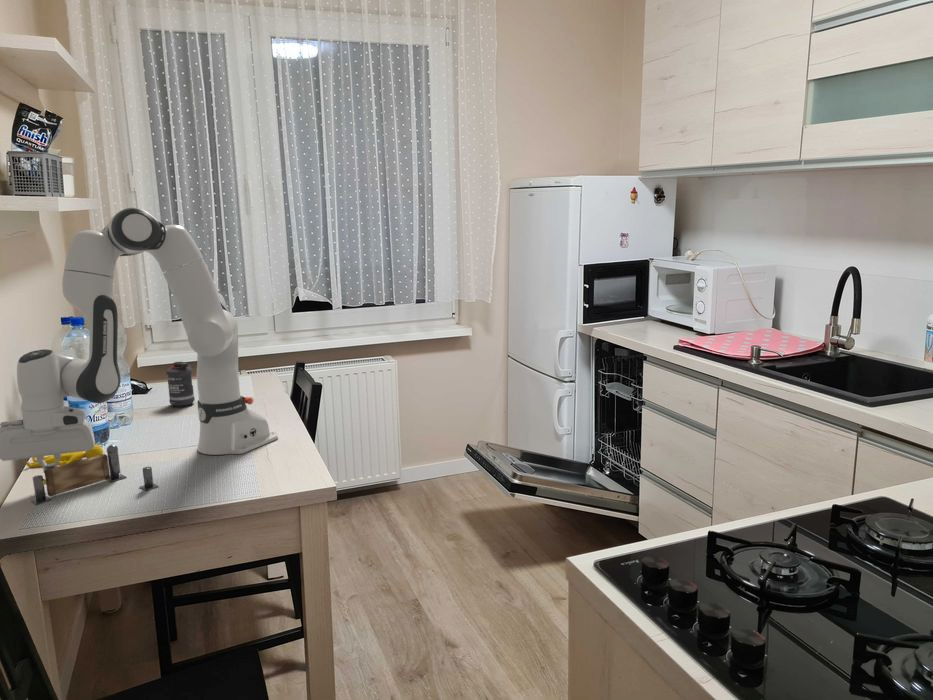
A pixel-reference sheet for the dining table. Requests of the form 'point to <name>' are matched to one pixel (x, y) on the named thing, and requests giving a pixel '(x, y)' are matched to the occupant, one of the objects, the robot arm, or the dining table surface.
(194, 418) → the dining table surface
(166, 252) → the robot arm
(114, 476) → the hinge post
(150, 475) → the post
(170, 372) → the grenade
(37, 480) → the latch stile
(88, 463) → the gate
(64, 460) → the figurine
